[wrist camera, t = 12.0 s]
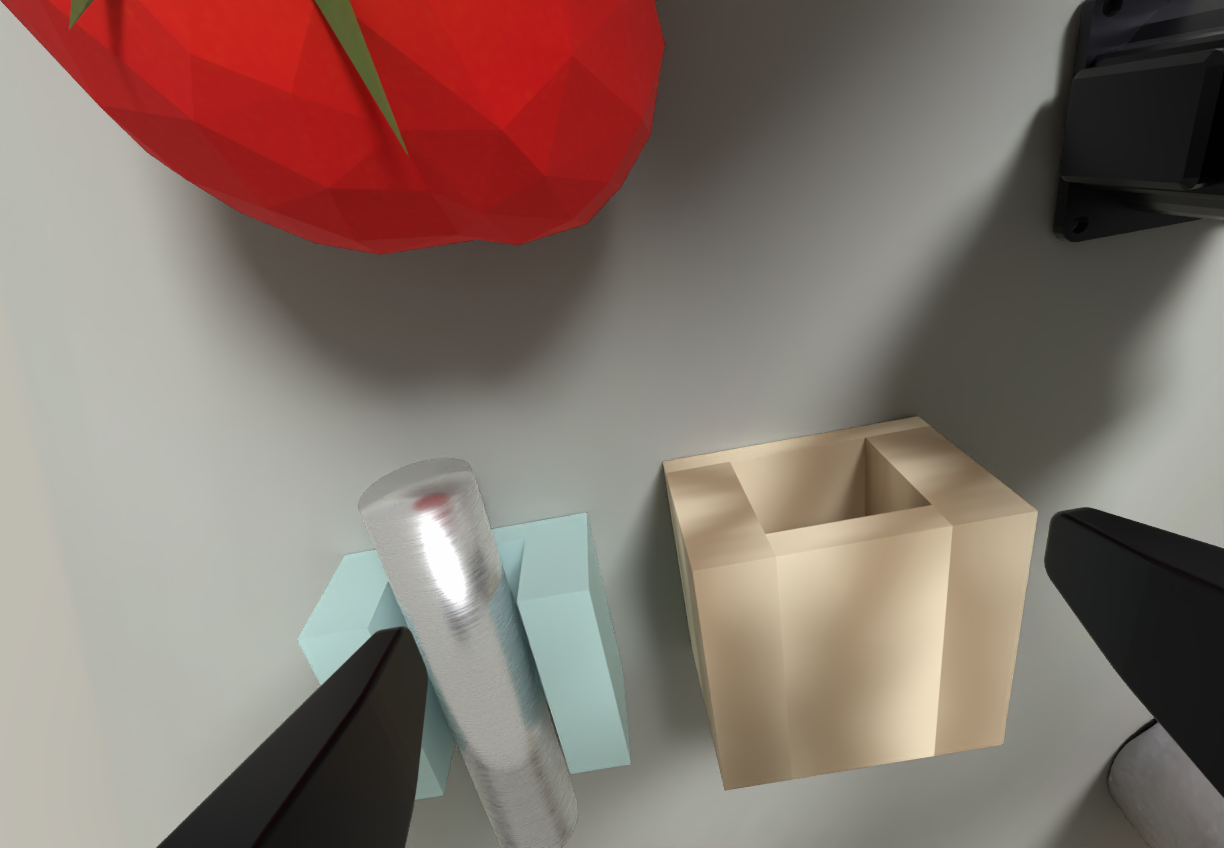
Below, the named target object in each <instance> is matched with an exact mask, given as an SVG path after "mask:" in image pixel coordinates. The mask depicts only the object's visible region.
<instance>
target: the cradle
mask: <svg viewBox="0 0 1224 848" xmlns="http://www.w3.org/2000/svg"><path fill="white" fill-rule="evenodd" d="M491 530H492V533H493V536H494V539H495V543H496V546H497V549H498V552H499V555H500V558H501V562H502V565H503V568H504V571H505V574H506V578H507V581H508V584H509V587H510V590H511V593H512V597H513V600H514V603H515V606H516V609H517V613H518V616H519V619H520V622H521V625H522V628H523V632H524V635H525V638H526V641H527V644H528V647H529V651H530V654H531V657H532V660H533V663H534V667H535V670H536V673H537V676H538V679H539V682H540V686H541V689H542V692H543V695H544V698H545V702H546V704H547V703H548V704H549V707H550V711H551V714H552V717H553V720H554V723H555V727H556V730H557V733H558V736H559V740H560V743H561V746H562V749H563V752H564V756H565V759H566V762H567V765H568V768H569V772H570V774H575V773H581V772H587V771H593V770H599V769H605V768H611V767H617V766H623V765H629V764H631V757H630V746H629V734H628V723H627V711H626V700H625V689H624V677H623V669H622V665H621V660H620V656H619V651H618V647H617V643H616V638H615V634H614V630H613V625H612V621H611V616H610V612H609V608H608V603H607V599H606V595H605V590H604V586H603V581H602V577H601V573H600V568H599V564H598V560H597V555H596V551H595V546H594V542H593V538H592V533H591V529H590V524H589V520H588V516H587V512H585V513H579V514H574V515H568V516H563V517H557V518H551V519H546V520H540V521H534V522H529V523H523V524H517V525H512V526H506V527H501V528H495V529H491ZM398 626H405V627H408V626H407V623H406V621H405V619H404V616H403V614H402V612H401V609H400V607H399V604H398V602H397V600H396V597H395V595H394V593H393V590H392V588H391V585H390V583H389V581H388V578H387V576H386V574H385V571H384V569H383V566H382V564H381V562H380V559H379V557H378V555H377V552H376V550H371V551H365V552H360V553H354V554H348V555H345V556H344V558H343V560H342V561H341V563H340V565H339V567H338V568H337V570H336V572H335V574H334V576H333V577H332V579H331V581H330V583H329V584H328V586H327V588H326V590H325V592H324V593H323V595H322V597H321V599H320V600H319V602H318V604H317V606H316V607H315V609H314V611H313V613H312V615H311V616H310V618H309V620H308V622H307V623H306V625H305V627H304V629H303V630H302V632H301V634H300V636H299V638H298V639H297V642H298V643H299V645H300V647H301V649H302V651H303V653H304V655H305V657H306V659H307V660H308V662H309V664H310V666H311V668H312V670H313V672H314V674H315V676H316V677H317V679H318V681H319V683H320V685H322V684H323V683H324V682H325V681H326V680H327V679H328V678H329V677H330V676H331V675H332V674H333V673H334V672H335V671H336V670H337V669H338V668H339V667H340V666H341V665H342V664H343V663H344V662H345V661H346V660H347V659H348V658H349V657H350V656H351V655H352V654H354V653H355V652H356V651H357V650H358V649H359V648H360V647H361V646H362V645H363V644H364V643H365V642H366V641H367V640H368V639H369V638H370V637H371V636H372V635H373V634H374V633H375V632H377V631H378V630H381V629H387V628H392V627H398ZM454 744H455V738H454V735H453V733H452V730H451V728H450V726H449V723H448V721H447V719H446V716H445V714H444V711H443V709H442V707H441V704H440V702H439V700H438V697H437V695H436V692H435V690H434V688H433V685H432V683H431V681H430V678H429V676H428V690H427V699H426V708H425V718H424V727H423V736H422V746H421V755H420V764H419V774H418V782H417V789H416V796H415V800H419V799H425V798H431V797H437V796H443V795H444V793H445V788H446V783H447V779H448V774H449V769H450V764H451V759H452V754H453V749H454Z"/></svg>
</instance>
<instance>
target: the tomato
mask: <svg viewBox="0 0 1224 848" xmlns="http://www.w3.org/2000/svg"><path fill="white" fill-rule="evenodd" d="M0 1H1V2H2V3H3V4H4V5H5V6H6V7H7V8H8V9H9V10H10V11H11V12H12V13H13V14H14V16H15V17H16V18H17V19H18V20H19V21H20V22H21V23H22V24H23V25H24V26H25V27H26V28H27V29H28V30H29V32H30V33H31V34H32V35H33V36H34V37H35V38H36V39H37V40H38V41H39V42H40V43H41V44H42V45H43V46H44V48H45V49H46V50H47V51H48V52H49V53H50V54H51V55H52V56H53V57H54V58H55V59H56V60H57V61H58V62H59V64H60V65H61V66H62V67H63V68H64V69H65V70H66V71H67V72H68V73H69V74H70V75H71V76H72V77H73V78H74V80H75V81H76V82H77V83H78V84H79V85H80V86H81V87H82V88H83V89H84V90H85V91H86V92H87V93H88V94H89V96H90V97H91V98H92V99H93V100H94V101H95V102H96V103H97V104H98V105H99V106H100V107H101V108H102V109H103V110H104V111H105V112H106V113H107V114H108V115H109V116H110V117H111V118H112V119H113V120H114V121H115V122H116V123H117V124H118V125H119V126H120V127H121V128H122V129H123V130H125V131H126V132H127V133H128V134H129V135H130V136H131V137H132V138H133V139H134V140H135V141H136V142H137V143H138V144H139V145H140V146H141V147H142V148H143V149H144V150H145V151H146V152H147V153H149V154H150V155H151V156H153V157H154V158H156V159H157V160H159V161H160V162H162V163H163V164H164V165H166V166H167V167H169V168H170V169H172V170H173V171H175V172H176V173H178V174H179V175H180V176H182V177H183V178H185V179H186V180H188V181H189V182H191V183H193V184H194V185H196V186H198V187H199V188H201V189H203V190H204V191H206V192H207V193H209V194H211V195H212V196H214V197H216V198H217V199H219V200H221V201H222V202H224V203H225V204H227V205H229V206H230V207H232V208H234V209H235V210H237V211H239V212H240V213H242V214H245V215H247V216H250V217H252V218H255V219H257V220H259V221H262V222H264V223H267V224H269V225H272V226H274V227H277V228H279V229H282V230H284V231H287V232H289V233H292V234H294V235H297V236H299V237H302V238H304V239H307V240H309V241H312V242H314V243H318V244H324V245H329V246H335V247H341V248H346V249H352V250H357V251H363V252H368V253H374V254H380V255H382V254H388V253H395V252H401V251H407V250H414V249H420V248H427V247H433V246H439V245H446V244H452V243H459V242H465V241H472V240H485V241H492V242H499V243H507V244H514V245H520V244H524V243H527V242H530V241H533V240H536V239H540V238H543V237H546V236H549V235H552V234H556V233H559V232H562V231H565V230H568V229H572V228H575V227H578V226H581V225H584V224H587V223H588V222H589V221H590V220H591V219H592V218H593V217H594V216H595V215H596V213H597V212H598V211H599V210H600V209H601V208H602V207H603V206H604V205H605V204H606V203H607V202H608V200H609V199H610V198H611V197H612V196H613V195H614V194H615V193H616V192H617V191H618V190H619V188H620V187H621V186H622V184H623V183H624V181H625V179H626V177H627V176H628V174H629V172H630V170H631V168H632V167H633V165H634V163H635V161H636V160H637V158H638V156H639V154H640V153H641V151H642V149H643V147H644V146H645V144H646V142H647V140H648V139H649V137H650V134H651V128H652V121H653V115H654V109H655V103H656V96H657V90H658V84H659V77H660V71H661V65H662V58H663V52H664V46H665V42H664V38H663V34H662V30H661V26H660V22H659V18H658V14H657V10H656V6H655V4H656V0H0Z"/></svg>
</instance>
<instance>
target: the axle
mask: <svg viewBox="0 0 1224 848" xmlns="http://www.w3.org/2000/svg"><path fill="white" fill-rule="evenodd" d="M358 509H359V512H360V514H361V517H362V519H363V521H364V524H365V526H366V528H367V531H368V533H369V536H370V538H371V540H372V543H373V545H374V547H375V550H376V552H377V555H378V557H379V559H380V562H381V564H382V566H383V569H384V571H385V574H386V576H387V578H388V581H389V583H390V585H391V588H392V590H393V593H394V595H395V597H396V600H397V602H398V604H399V607H400V609H401V612H402V614H403V616H404V619H405V621H406V623H407V626H408V628H409V629H410V631H411V632H412V634H413V636H414V639H415V641H416V644H417V646H418V648H419V651H420V653H421V656H422V658H423V660H424V663H425V665H426V668H427V673H428V676H429V678H430V681H431V683H432V685H433V688H434V690H435V692H436V695H437V697H438V700H439V702H440V704H441V707H442V709H443V711H444V714H445V716H446V719H447V721H448V723H449V726H450V728H451V730H452V733H453V735H454V738H455V740H456V742H457V745H458V747H459V749H460V752H461V754H462V757H463V759H464V761H465V764H466V766H467V768H468V771H469V773H470V776H471V778H472V780H473V783H474V785H475V787H476V790H477V792H478V795H479V797H480V799H481V802H482V804H483V806H484V809H485V811H486V814H487V816H488V818H489V821H490V823H491V825H492V828H493V830H494V833H495V835H496V837H497V840H498V842H499V845H500V846H501V848H561V847H562V846H563V845H564V844H565V843H566V842H567V840H568V839H569V837H570V836H571V834H572V832H573V830H574V828H575V825H576V821H577V816H578V806H577V801H576V797H575V794H574V791H573V787H572V784H571V781H570V778H569V775H568V772H567V768H566V765H565V762H564V759H563V756H562V752H561V749H560V746H559V743H558V740H557V737H556V733H555V730H554V727H553V724H552V721H551V717H550V714H549V711H548V708H547V705H546V702H545V698H544V695H543V692H542V689H541V686H540V682H539V679H538V676H537V673H536V670H535V667H534V663H533V660H532V657H531V654H530V651H529V647H528V644H527V641H526V638H525V635H524V632H523V628H522V625H521V622H520V619H519V616H518V613H517V609H516V606H515V603H514V600H513V597H512V593H511V590H510V587H509V584H508V581H507V578H506V574H505V571H504V568H503V565H502V562H501V558H500V555H499V552H498V549H497V546H496V543H495V539H494V536H493V533H492V530H491V527H490V523H489V520H488V517H487V514H486V511H485V508H484V504H483V501H482V498H481V495H480V492H479V488H478V485H477V482H476V479H475V476H474V473H473V469H472V467H471V466H470V465H469V464H468V463H467V462H465V461H463V460H459V459H454V458H439V459H431V460H426V461H421V462H417V463H414V464H411V465H408V466H405V467H403V468H400V469H398V470H396V471H393V472H391V473H389V474H388V475H386V476H384V477H382V478H381V479H379V480H378V481H376V482H375V483H374V484H372V485H371V486H370V487H369V488H368V489H367V490H366V491H365V492H364V493H363V495H362V496H361V498H360V500H359V503H358Z"/></svg>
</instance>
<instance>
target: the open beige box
mask: <svg viewBox="0 0 1224 848" xmlns="http://www.w3.org/2000/svg"><path fill="white" fill-rule="evenodd" d="M663 467H664V473H665V480H666V486H667V492H668V499H669V505H670V511H671V518H672V524H673V530H674V537H675V543H676V550H677V556H678V562H679V569H680V575H681V581H682V588H683V594H684V600H685V607H686V613H687V619H688V626H689V632H690V638H691V645H692V651H693V655H694V659H695V664H696V668H697V672H698V677H699V681H700V686H701V690H702V694H703V699H704V703H705V707H706V712H707V716H708V720H709V725H710V729H711V733H712V738H713V742H714V747H715V751H716V755H717V760H718V764H719V768H720V773H721V777H722V781H723V786H724V790H731V789H737V788H743V787H749V786H755V785H761V784H767V783H773V782H779V781H785V780H791V779H797V778H803V777H810V776H816V775H822V774H828V773H834V772H840V771H846V770H852V769H858V768H864V767H870V766H876V765H882V764H888V763H894V762H900V761H906V760H912V759H919V758H925V757H931V756H937V755H943V754H949V753H955V752H961V751H967V750H973V749H979V748H985V747H991V746H997V745H1003V740H1004V733H1005V727H1006V720H1007V713H1008V707H1009V700H1010V693H1011V687H1012V680H1013V674H1014V667H1015V660H1016V654H1017V647H1018V641H1019V634H1020V627H1021V621H1022V614H1023V608H1024V601H1025V594H1026V588H1027V581H1028V574H1029V568H1030V561H1031V555H1032V548H1033V541H1034V535H1035V528H1036V522H1037V515H1038V511H1037V510H1036V509H1035V508H1034V507H1032V506H1031V505H1030V504H1029V503H1027V502H1026V501H1025V500H1024V499H1022V498H1021V497H1020V496H1019V495H1017V494H1016V493H1015V492H1014V491H1012V490H1011V489H1010V488H1008V487H1007V486H1006V485H1005V484H1003V483H1002V482H1001V481H1000V480H998V479H997V478H996V477H995V476H993V475H992V474H991V473H990V472H988V471H987V470H986V469H984V468H983V467H982V466H981V465H979V464H978V463H977V462H976V461H974V460H973V459H972V458H971V457H969V456H968V455H967V454H966V453H964V452H963V451H962V450H961V449H959V448H958V447H957V446H955V445H954V444H953V443H952V442H950V441H949V440H948V439H947V438H945V437H944V436H943V435H942V434H940V433H939V432H938V431H937V430H935V429H934V428H933V427H931V426H930V425H929V424H928V423H926V422H925V421H924V420H923V419H921V418H920V417H919V416H916V417H910V418H905V419H899V420H894V421H888V422H882V423H877V424H871V425H866V426H860V427H854V428H849V429H843V430H838V431H832V432H826V433H821V434H815V435H810V436H804V437H799V438H793V439H787V440H782V441H776V442H771V443H765V444H759V445H754V446H748V447H743V448H737V449H732V450H726V451H720V452H715V453H709V454H704V455H698V456H692V457H687V458H681V459H676V460H670V461H664V462H663Z"/></svg>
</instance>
